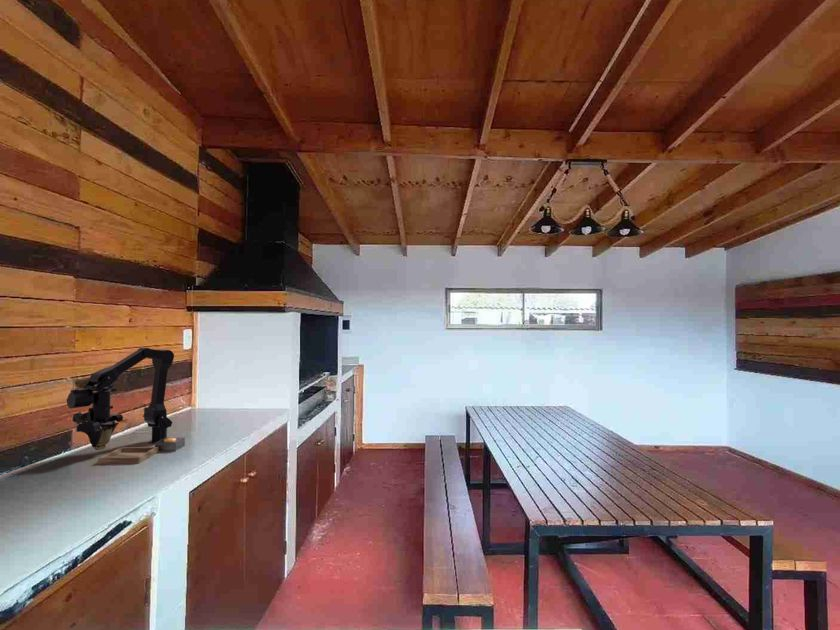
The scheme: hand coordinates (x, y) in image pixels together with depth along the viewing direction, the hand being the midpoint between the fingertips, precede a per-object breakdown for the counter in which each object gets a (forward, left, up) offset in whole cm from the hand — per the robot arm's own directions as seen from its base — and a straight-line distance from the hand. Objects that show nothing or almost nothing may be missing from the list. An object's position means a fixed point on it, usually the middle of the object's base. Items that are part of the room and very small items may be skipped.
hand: (100, 444), depth 165 cm
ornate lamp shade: (0, 0, -2) cm, 2 cm away
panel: (-8, +22, -4) cm, 24 cm away
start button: (-8, +22, -3) cm, 24 cm away
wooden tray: (+4, +13, -4) cm, 14 cm away
